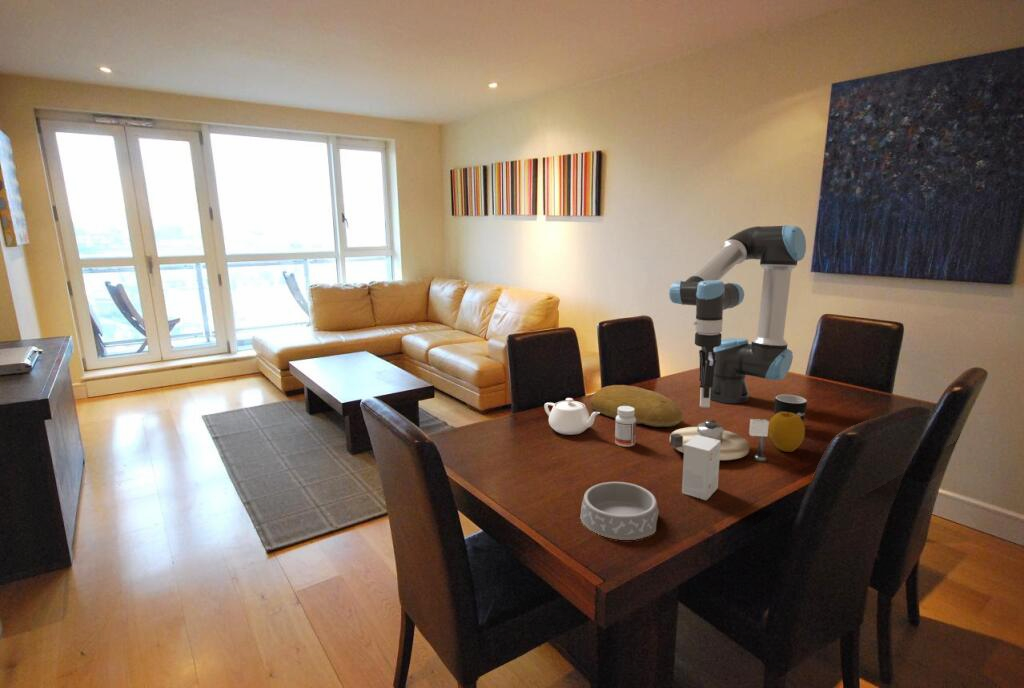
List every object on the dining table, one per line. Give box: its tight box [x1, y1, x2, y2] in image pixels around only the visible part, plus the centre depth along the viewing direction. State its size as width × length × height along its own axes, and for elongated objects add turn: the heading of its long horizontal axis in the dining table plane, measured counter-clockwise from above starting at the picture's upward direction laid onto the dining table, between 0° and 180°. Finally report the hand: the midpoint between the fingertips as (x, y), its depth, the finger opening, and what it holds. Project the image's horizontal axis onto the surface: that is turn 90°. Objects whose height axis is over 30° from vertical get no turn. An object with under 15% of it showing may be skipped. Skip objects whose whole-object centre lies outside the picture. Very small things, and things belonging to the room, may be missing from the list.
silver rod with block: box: [748, 418, 770, 463], centre depth 145 cm, size 3×5×12 cm, turn 81°
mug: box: [774, 394, 808, 422], centre depth 169 cm, size 12×9×10 cm
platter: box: [669, 426, 751, 461], centre depth 152 cm, size 22×23×4 cm
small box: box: [681, 435, 721, 501], centre depth 128 cm, size 8×6×13 cm
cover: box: [697, 419, 724, 442], centre depth 153 cm, size 7×7×6 cm
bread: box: [589, 384, 683, 428], centre depth 183 cm, size 18×35×10 cm, turn 45°
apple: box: [768, 412, 806, 453], centre depth 152 cm, size 10×10×12 cm
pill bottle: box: [614, 406, 637, 448], centre depth 158 cm, size 6×6×11 cm
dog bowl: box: [579, 481, 660, 541], centre depth 118 cm, size 17×18×5 cm
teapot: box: [543, 397, 601, 436], centre depth 170 cm, size 22×14×11 cm, turn 48°
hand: (704, 406), depth 161 cm, fingers closed
